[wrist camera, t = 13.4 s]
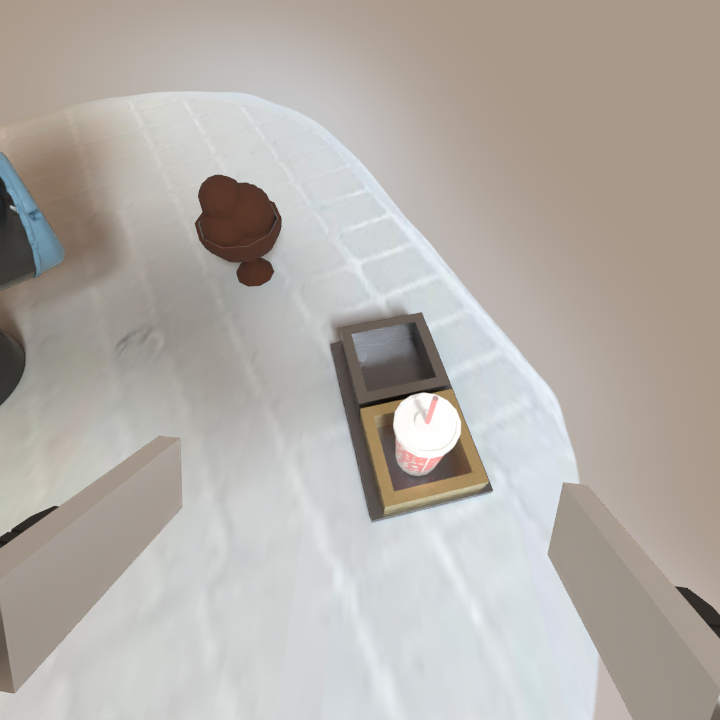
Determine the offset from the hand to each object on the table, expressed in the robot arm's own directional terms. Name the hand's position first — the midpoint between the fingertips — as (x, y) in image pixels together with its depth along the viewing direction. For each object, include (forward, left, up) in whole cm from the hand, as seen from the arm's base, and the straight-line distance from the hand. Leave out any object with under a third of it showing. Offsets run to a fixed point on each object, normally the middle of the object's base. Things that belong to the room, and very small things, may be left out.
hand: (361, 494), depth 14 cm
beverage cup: (-9, +8, -29) cm, 31 cm away
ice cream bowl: (-42, -7, -30) cm, 52 cm away
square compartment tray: (-15, +8, -30) cm, 34 cm away
